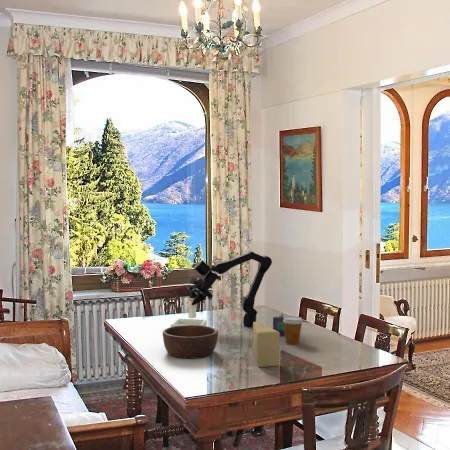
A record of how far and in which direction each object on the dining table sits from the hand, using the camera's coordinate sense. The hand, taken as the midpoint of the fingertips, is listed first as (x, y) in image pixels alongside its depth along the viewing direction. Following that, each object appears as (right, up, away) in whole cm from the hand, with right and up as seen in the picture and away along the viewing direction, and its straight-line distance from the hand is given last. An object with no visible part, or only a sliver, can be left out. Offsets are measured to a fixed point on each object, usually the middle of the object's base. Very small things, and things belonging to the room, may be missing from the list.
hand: (190, 304), depth 330 cm
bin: (-1, -13, 0) cm, 13 cm away
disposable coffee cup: (+51, -15, -27) cm, 60 cm away
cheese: (+34, -17, -58) cm, 69 cm away
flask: (+47, -14, -9) cm, 51 cm away
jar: (+1, -7, +1) cm, 7 cm away
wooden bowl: (+3, -16, -46) cm, 49 cm away
